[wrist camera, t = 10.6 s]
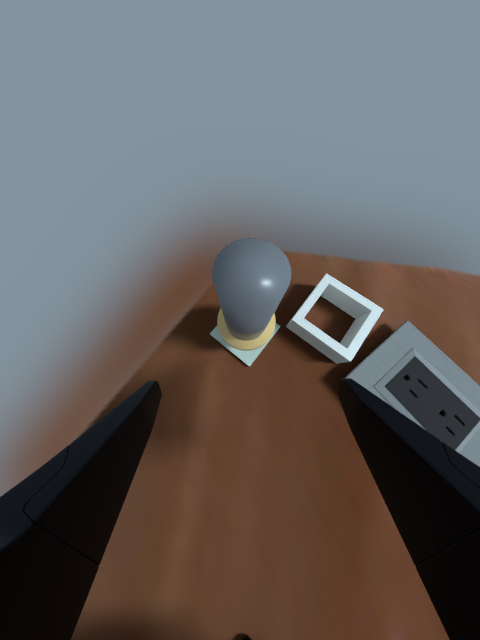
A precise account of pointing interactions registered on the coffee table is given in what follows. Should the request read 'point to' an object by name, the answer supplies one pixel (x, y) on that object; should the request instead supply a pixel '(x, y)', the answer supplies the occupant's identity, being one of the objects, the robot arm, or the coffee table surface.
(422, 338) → the electrical outlet
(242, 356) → the rubber pad
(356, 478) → the coffee table surface
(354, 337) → the frame
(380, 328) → the coffee table surface
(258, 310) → the grey tapered rounded cylinder
